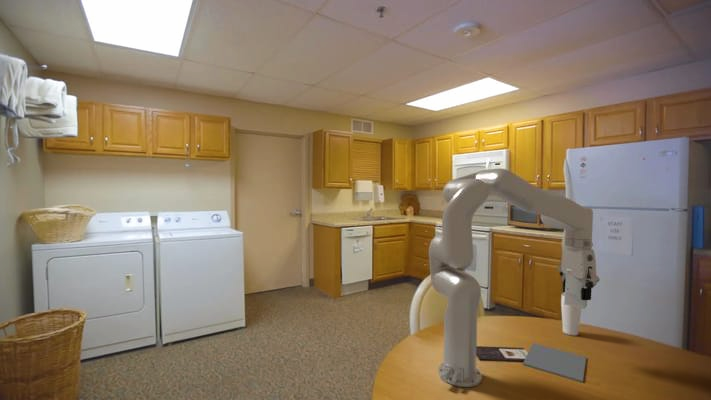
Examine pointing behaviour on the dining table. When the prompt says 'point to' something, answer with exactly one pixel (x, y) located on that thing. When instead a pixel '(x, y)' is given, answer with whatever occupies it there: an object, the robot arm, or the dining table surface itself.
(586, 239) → the robot arm
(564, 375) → the mat
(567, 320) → the white hollow tapered cylinder
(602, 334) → the dining table surface
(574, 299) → the skincare box
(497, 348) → the chocolate bar
